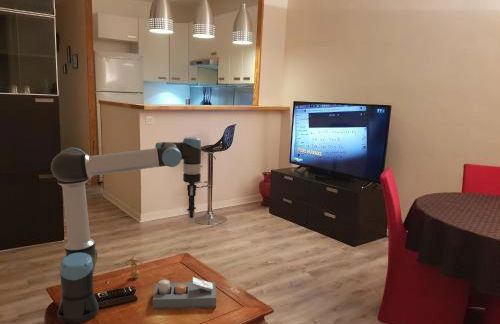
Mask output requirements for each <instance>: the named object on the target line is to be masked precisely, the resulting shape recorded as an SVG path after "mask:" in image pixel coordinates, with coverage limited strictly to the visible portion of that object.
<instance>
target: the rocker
mask: <svg viewBox="0 0 500 324" xmlns="http://www.w3.org/2000/svg"><path fill="white" fill-rule="evenodd" d="M210 282H211V281H208V280H207V281H206V280H204V279H200V278H197V277H194V276H193V277H192V278H191V283H192V286H194V287H197V288H201V290H203V289H204V290H207V291H211V292H212V290H213V285H212V283H210Z"/></svg>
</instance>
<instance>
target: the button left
mask: <svg viewBox="0 0 500 324" xmlns="http://www.w3.org/2000/svg"><path fill="white" fill-rule="evenodd" d="M158 283H159V294H161V295H163V294H168V293H169V292H170V283H171V281H170V280H168V279H162V280H159V281H158Z"/></svg>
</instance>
